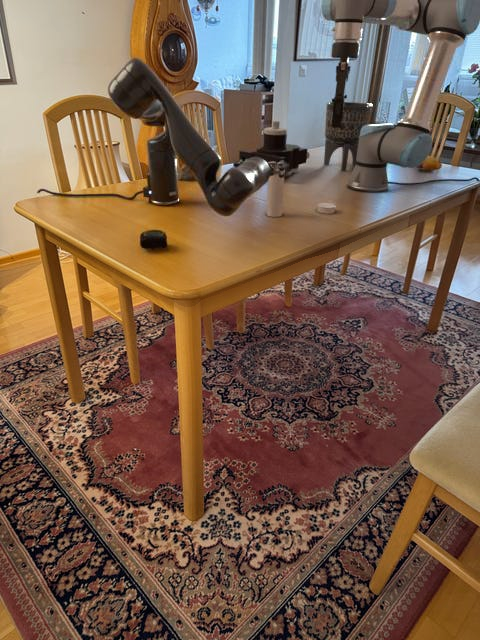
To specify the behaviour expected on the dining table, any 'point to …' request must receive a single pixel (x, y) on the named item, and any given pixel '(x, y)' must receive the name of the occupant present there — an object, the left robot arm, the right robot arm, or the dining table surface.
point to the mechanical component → (278, 149)
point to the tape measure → (153, 239)
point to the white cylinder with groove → (326, 208)
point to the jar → (275, 196)
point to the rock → (185, 174)
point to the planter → (346, 130)
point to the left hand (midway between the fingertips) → (267, 162)
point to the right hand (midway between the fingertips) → (336, 124)
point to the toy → (430, 164)
